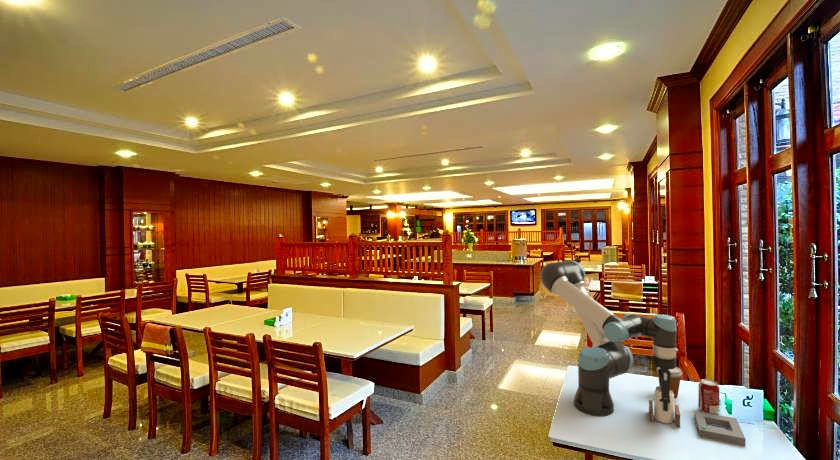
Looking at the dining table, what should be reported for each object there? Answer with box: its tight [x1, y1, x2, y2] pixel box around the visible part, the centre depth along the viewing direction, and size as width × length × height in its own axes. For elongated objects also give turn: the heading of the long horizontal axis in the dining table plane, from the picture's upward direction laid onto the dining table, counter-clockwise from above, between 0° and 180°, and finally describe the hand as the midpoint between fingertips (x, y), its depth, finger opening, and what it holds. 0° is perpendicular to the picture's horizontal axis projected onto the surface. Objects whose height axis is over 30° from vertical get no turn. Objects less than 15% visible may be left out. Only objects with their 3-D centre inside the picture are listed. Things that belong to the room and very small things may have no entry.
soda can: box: [697, 378, 720, 415], centre depth 161 cm, size 7×7×12 cm
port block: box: [693, 410, 746, 447], centre depth 147 cm, size 13×15×3 cm
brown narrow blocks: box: [648, 399, 681, 429], centre depth 155 cm, size 10×8×5 cm
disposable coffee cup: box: [656, 366, 683, 400], centre depth 175 cm, size 10×10×12 cm
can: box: [653, 385, 675, 425], centre depth 155 cm, size 6×6×12 cm
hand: (664, 410), depth 155 cm, fingers open, 13 cm apart
